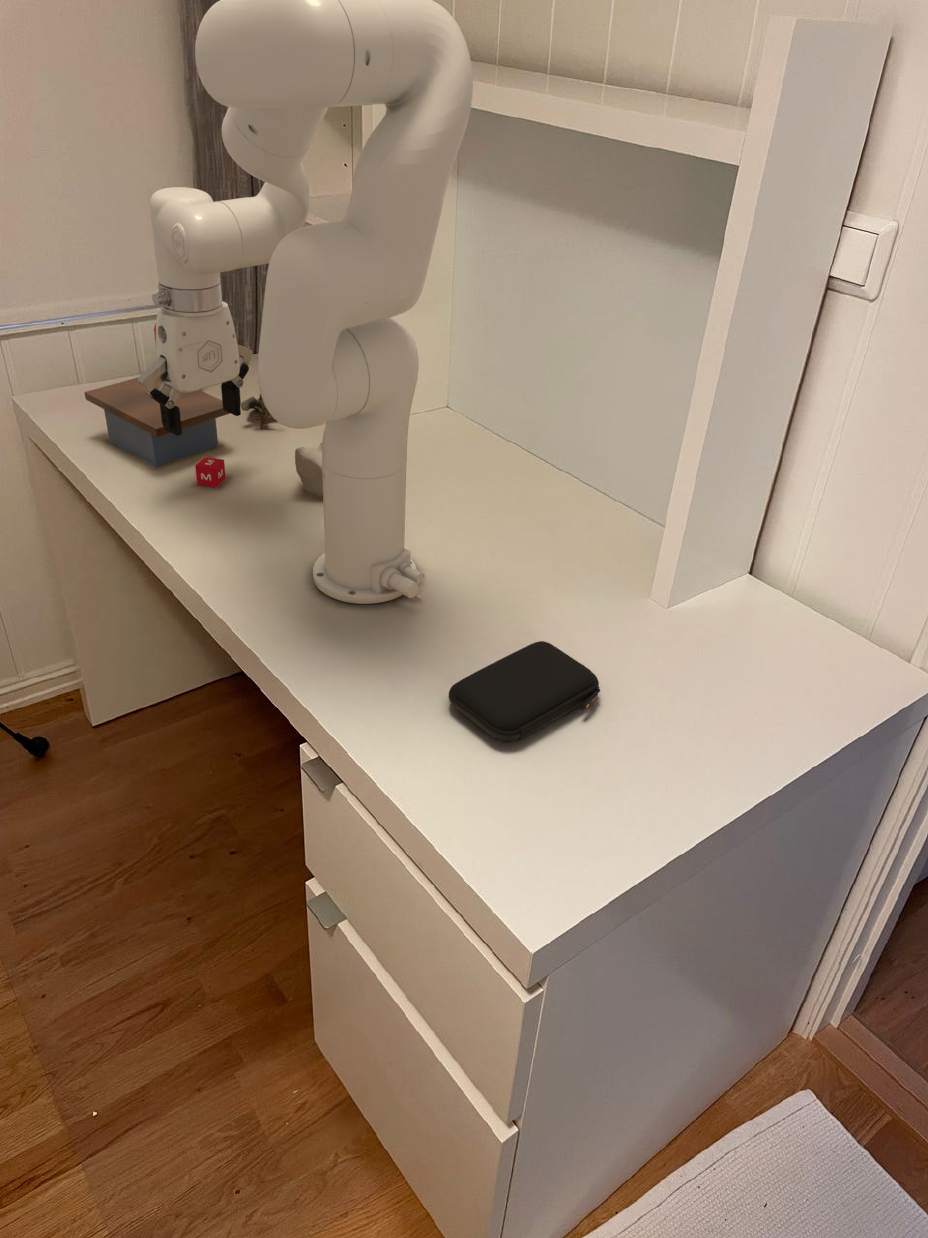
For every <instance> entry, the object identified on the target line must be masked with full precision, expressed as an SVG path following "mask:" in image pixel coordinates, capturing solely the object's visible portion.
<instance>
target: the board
mask: <svg viewBox="0 0 928 1238" xmlns="http://www.w3.org/2000/svg"><path fill="white" fill-rule="evenodd" d="M161 384H162V382H161V380H160V378H158V379H157V380H156V381H155V385H156V387H157V389H158V390H159V388H160V386H161ZM171 389H172V387H171ZM171 389H170V391H171ZM170 391H169V393H170ZM169 393H168V395H169ZM168 395H167V397H168ZM84 398H85V401H87V402H89V403H91V404H93V405H95V406H97V407H99V408H100V409H103V411H104V410H106V411H108V412H110V413H112V414H114V415H116V416H118V417H120V418H122V419H124V420H125V421H127V422H129V423H131V424H133V425H135V426H137V427H139V428H141V429H143V430H144V431H146V432H148V433H150V434H152V435H154V436H156V437H159V436H162V435H165V434H168V433H171V432H169V431H167V430H165V428H164V426H163V425H162V419H161V411H160V403H158V402H156V401H155V400H154V399H152V398H151V397H150V396H148V395H147V394H146V391H145V390H144V389H143V388H142V386H141V385H140V383H139V382H138V377H135V378H131V379H127V380H124V381H123V380H122V381H120V382H117V383H113V384H109V385H105V386H103V387H98V388H95V389H90V390H86V391H84ZM175 406H177V407H179V409H180V418H181V427H182V429H184V428H187V427H190V426H193V425H196V424H199V423H202V422H205V421H208V420H212V419H215V418H216V419H218V418H221V417H224V416H227V415H229V414H231V413H229V412H227V411H225V410H224V409H223V403H222V399H220V398H218V397H216V396H213V395H211V394H209V393H207V392H205V391H203V390H202V389H201V390H197V391H194V392H189V393H182V392H181V394H180V396H179V398H178V400H177V402H176V404H175Z"/></svg>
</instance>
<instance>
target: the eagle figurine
mask: <svg viewBox="0 0 928 1238" xmlns="http://www.w3.org/2000/svg"><path fill="white" fill-rule="evenodd" d="M240 409H241V410H242V411H243V412H245V411H247V412H248V411H249V410H251V409H252V410H254V411H256V412H257V414H254V415H253V418H254V419H256V418H257V419H259V422H260V423H259V429H261V430H262V429H263V428H264V426H265V425H267V422H268V419H269V417H272V415H271V414H270V413H269V411H268V410H267V408H266V406H265V404H264V402H263V399H262V396H261V393H259V398H256V397H255V396H253V395H252V396H249V397H248V398H246V399H244V400H243V401H241V405H240Z"/></svg>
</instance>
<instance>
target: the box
mask: <svg viewBox="0 0 928 1238" xmlns="http://www.w3.org/2000/svg"><path fill="white" fill-rule="evenodd" d="M103 411H104V417H105V423H106V429H107V434H108V440H109V442H110V443H111V444H113V445H115V446H117V447H118V448H121V449H122V450H124V451H126V452H128V453H129V454H132V455H133V456H135V457H136V458H138V459H140V460H143V461H144V462H146V463H147V464H149V465H152V466H153V467H155V468H158V467H161V466H164V465H167V464H170V463H173V462H176V461H179V460H181V459H185V458H187V457H190V456H192V455H196V454H199V453H202V452H204V451H207V450H210V449H213V448H216V447H219V440H218V439H219V438H218V431H217V430H218V429H217V420H216V419H217V418H215V419H212V420H208V421H205V422H202V423H199V424H196V425H193V426H190V427H187V428H184V429H182V433H181V435H179V436H176V435H174V434H173V433H168V434H165V435H162V436H159V437H156V436H154V435H152V434H150V433H148V432H146V431H144V430H143V429H141V428H139V427H137V426H135V425H133V424H131V423H129V422H127V421H125V420H124V419H122V418H120V417H118V416H116V415H114V414H112V413H110V412H108V411H106V410H104V409H103Z"/></svg>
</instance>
